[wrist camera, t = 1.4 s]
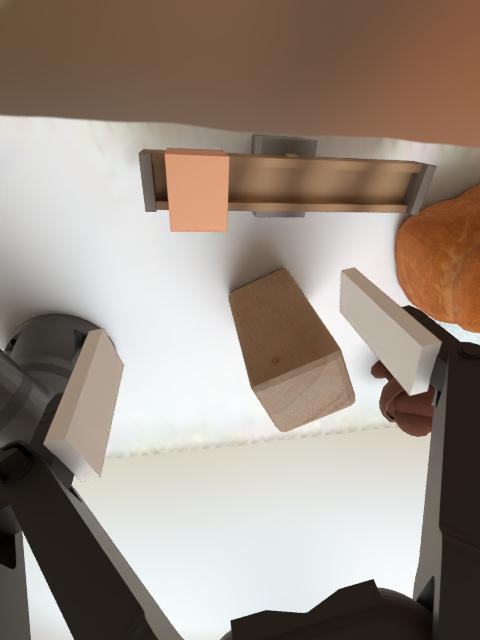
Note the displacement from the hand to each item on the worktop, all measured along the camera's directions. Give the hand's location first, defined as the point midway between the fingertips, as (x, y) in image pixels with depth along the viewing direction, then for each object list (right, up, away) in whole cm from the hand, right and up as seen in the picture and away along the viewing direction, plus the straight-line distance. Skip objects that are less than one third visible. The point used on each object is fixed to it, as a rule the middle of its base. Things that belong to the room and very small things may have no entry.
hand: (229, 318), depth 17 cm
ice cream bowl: (+31, -10, +46) cm, 56 cm away
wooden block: (+5, +3, +32) cm, 33 cm away
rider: (-4, +14, +13) cm, 20 cm away
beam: (+5, +18, +21) cm, 28 cm away
